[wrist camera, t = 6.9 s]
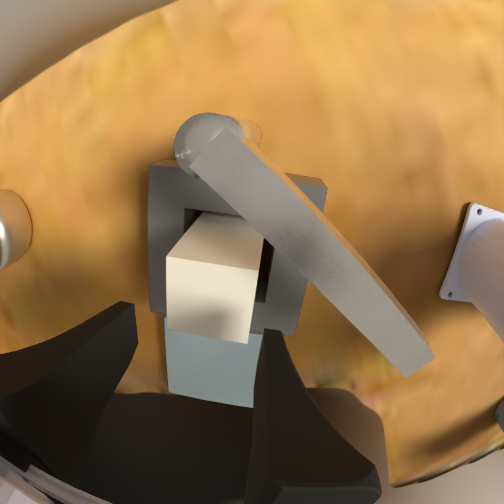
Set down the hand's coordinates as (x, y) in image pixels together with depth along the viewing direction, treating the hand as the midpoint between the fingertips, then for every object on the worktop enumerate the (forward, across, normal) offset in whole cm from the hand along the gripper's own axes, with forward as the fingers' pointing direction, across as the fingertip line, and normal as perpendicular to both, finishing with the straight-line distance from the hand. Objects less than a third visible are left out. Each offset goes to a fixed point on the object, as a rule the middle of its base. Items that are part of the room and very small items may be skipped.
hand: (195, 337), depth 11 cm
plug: (+10, 0, 0) cm, 10 cm away
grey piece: (+10, -4, -4) cm, 12 cm away
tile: (+10, 0, +11) cm, 15 cm away
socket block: (+10, 0, 0) cm, 10 cm away
